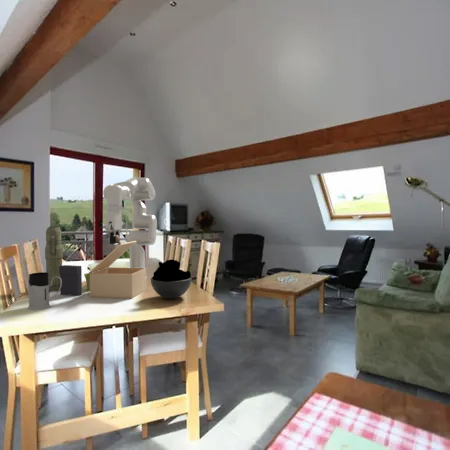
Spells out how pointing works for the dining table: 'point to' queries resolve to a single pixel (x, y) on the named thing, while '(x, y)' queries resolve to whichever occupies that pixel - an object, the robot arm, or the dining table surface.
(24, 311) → the dining table surface
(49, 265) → the thermos
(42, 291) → the glass holder
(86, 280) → the plant pot
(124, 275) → the carton
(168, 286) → the coal bowl
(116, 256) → the flap
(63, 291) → the dark grey box
